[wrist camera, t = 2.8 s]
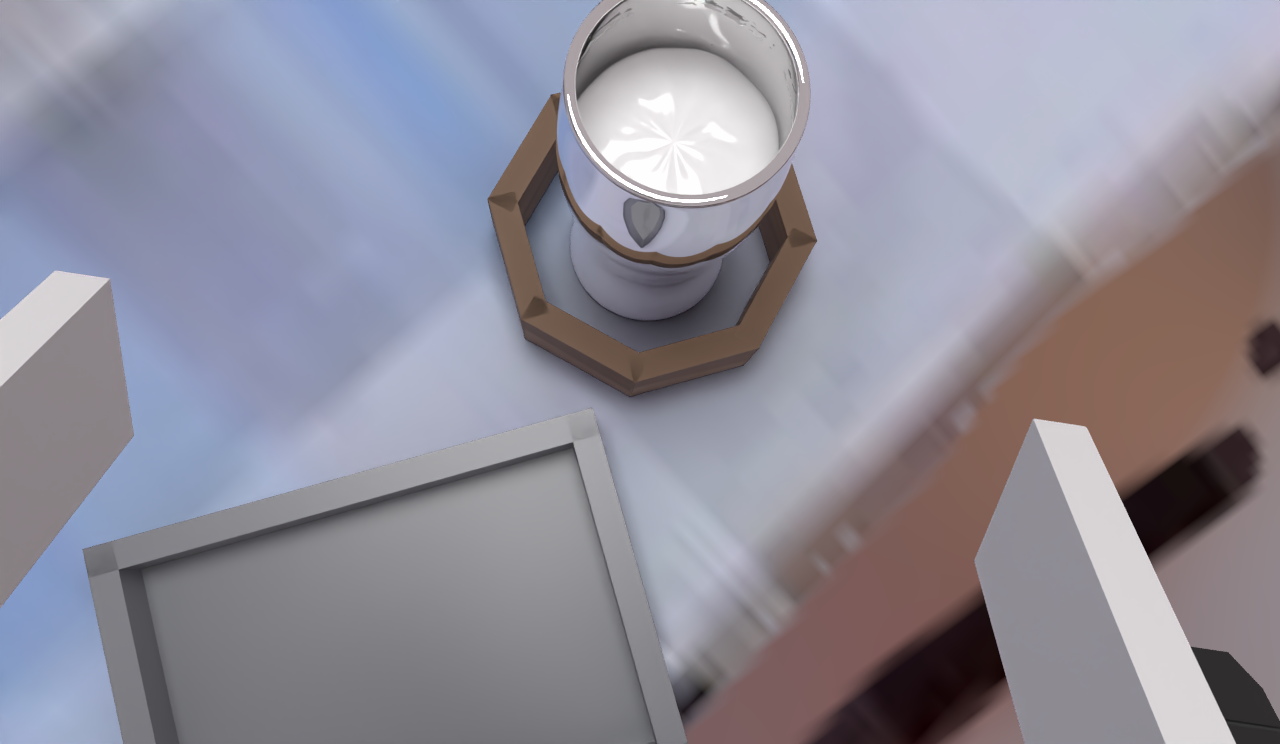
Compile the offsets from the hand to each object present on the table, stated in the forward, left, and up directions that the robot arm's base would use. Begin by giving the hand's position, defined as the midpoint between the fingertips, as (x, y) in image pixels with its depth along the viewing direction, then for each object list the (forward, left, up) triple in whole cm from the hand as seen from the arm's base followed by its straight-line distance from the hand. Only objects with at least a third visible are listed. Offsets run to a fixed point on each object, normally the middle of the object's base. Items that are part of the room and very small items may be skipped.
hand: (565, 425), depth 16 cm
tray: (-7, -4, -26) cm, 27 cm away
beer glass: (+6, +9, -26) cm, 28 cm away
